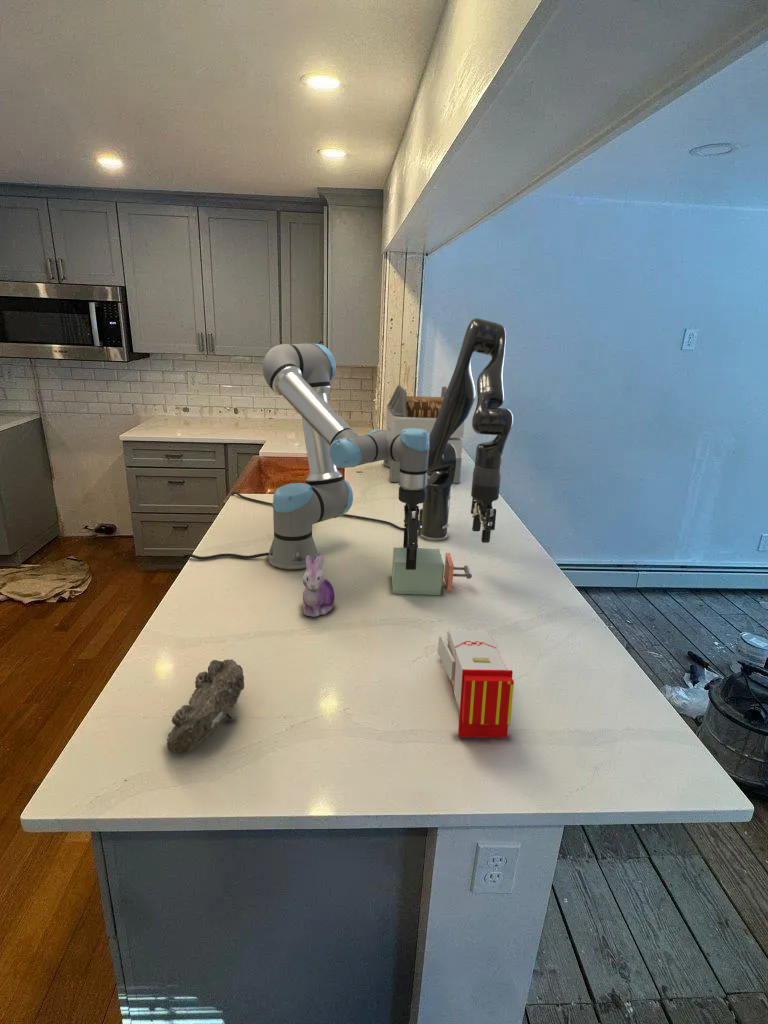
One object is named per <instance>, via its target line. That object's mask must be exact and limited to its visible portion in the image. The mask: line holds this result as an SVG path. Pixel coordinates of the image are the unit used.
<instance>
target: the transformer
mask: <svg viewBox="0 0 768 1024" xmlns="http://www.w3.org/2000/svg"><path fill="white" fill-rule="evenodd" d="M447 388H448V386H442V387H441V392H440V393H441V394H440V396H415V395H414V396H413V395H412V396H411V395H407V394H408V393H407V390H406V389H404V388H403V387H402V385H399V384H398V385H397V386H396V388H395V390H394V392H393V394H392V395H391V398H390V400H389V402H388V404H387V405H386V413H385V414H386V415H385V423H386V428H385V430H386V431H389V432H394V433H398V434H401V432H402V430H404V429H407V428H416V429H424V430H426V431H427V432H428V433H429V435H430V433H431V431H432V429H433V426H434V424H435V421H436V419H437V416H438V414H439V411H440V408H441V405H442V402H443V399H444V396H445V393H446V391H447ZM464 429H465V421H464V422H463V423H462V424H461V425H460V427H459V428H458V429H457V430H456V431H455V432H454V433H453V434H452V436H451V437H450V438H449V440H448V442H447V443H450V444H452V445H453V446H454V448H455V450H456V455H457V461H456V469H455V476H454V482H453V484H455V483H456V484H459V483H461V472H462V461H463V460H462V453H463V442H464V441H463V440H462V439H463V438H464V431H465V430H464ZM383 466H384V467H388V468H389V475H388V476H389V477H388V478H389V480H390V482H391V483H399V470H400V462H396V461H392V460H387V459H385V460H383Z"/></svg>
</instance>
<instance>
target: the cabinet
mask: <svg viewBox="0 0 768 1024" xmlns="http://www.w3.org/2000/svg"><path fill="white" fill-rule="evenodd" d="M392 550H393V552H392V567H391V570H392V571H391V585H392V594H393V595H394V594H398V595H425V596H426V595H429V596H441V595H442V594H441V593H442V589H441V584H442V573H443V564H444V562H443V557H441V556H442V554H441V550H440V548H427V547H426V548H424V547H418V548H417V557H416V570H406V552H407V548H403V547H397V546H395V547H393V548H392Z"/></svg>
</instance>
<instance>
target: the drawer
mask: <svg viewBox="0 0 768 1024" xmlns="http://www.w3.org/2000/svg"><path fill="white" fill-rule="evenodd" d="M441 557H442V555H441ZM444 557H445V558H444V563H443V573H442V584H441V590H442V589H443V583H444V584H445V588H446V591H447V592H452V591H453V580H454V577H458V578H459V577H460V578H466V579H468V580H470V579H472V577H473V575H472V572H471V570H470V567H469V566H468V565H464V566H461V567H460V566H455V565H454V562H453V559H452V555H451V553H450V552H446V553H445V556H444ZM442 558H443V557H442ZM454 571H463V573H454Z"/></svg>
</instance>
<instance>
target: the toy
mask: <svg viewBox="0 0 768 1024" xmlns="http://www.w3.org/2000/svg"><path fill="white" fill-rule="evenodd" d="M446 640H447V643H446V641H445V639H444V636H443V635H442V634H439V637H438V646H437V656H438V657H439V659H440V661H441V663H442V666H443V668H444V670H445V672H446V674H447V677H448V679H449V681H450V684H451V687H452V690H453V693H454V697H455V701H456V705H457V708H458V711H459V714H458V715H459V716H458V730H457V731H458V732H457V737H458V738H508V731H509V726H510V725H511V717H512V707H513V697H514V696H513V695H514V684H515V680H514V679H513V673H514V671H513V670H512V669H508V667H507V665H506V662H505V661H504V659H503V658H502V655H501V653H500V651H499V649H498V647H497V643H496V639H495V637H494V635H493V634H491V632H490V631H489V629H467V628H466V629H465V628H463V629H461V628H460V629H459V628H448V630H447V639H446Z"/></svg>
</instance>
